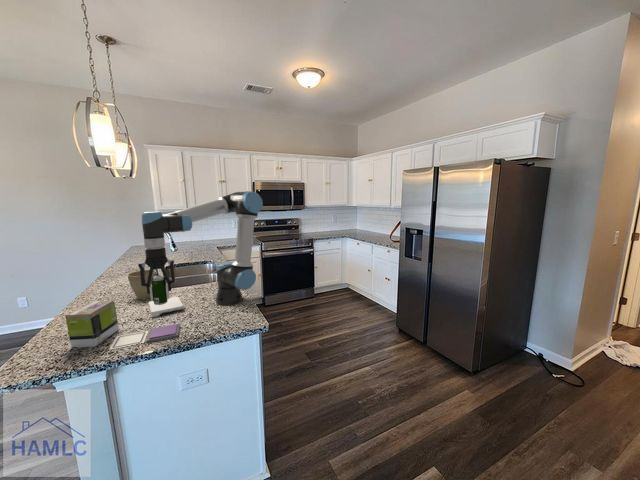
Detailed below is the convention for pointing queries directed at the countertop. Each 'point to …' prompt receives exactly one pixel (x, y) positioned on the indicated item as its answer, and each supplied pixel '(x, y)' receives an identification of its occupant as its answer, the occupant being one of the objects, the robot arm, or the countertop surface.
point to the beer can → (159, 290)
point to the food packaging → (165, 306)
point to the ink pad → (163, 333)
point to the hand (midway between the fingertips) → (160, 299)
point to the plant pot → (139, 284)
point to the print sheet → (129, 340)
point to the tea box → (92, 323)
